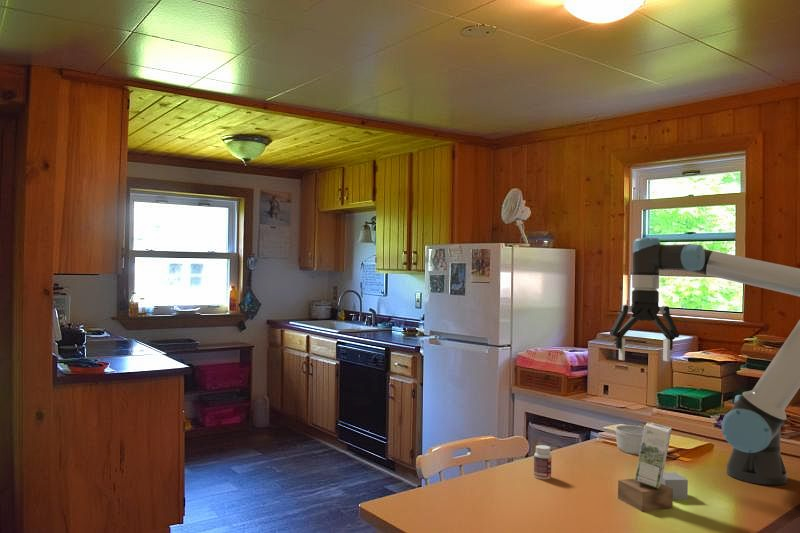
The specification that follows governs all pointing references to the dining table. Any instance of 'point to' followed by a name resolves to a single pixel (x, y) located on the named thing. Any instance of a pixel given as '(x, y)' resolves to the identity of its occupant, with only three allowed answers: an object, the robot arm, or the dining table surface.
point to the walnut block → (645, 495)
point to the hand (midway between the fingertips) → (643, 360)
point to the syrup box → (653, 454)
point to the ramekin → (629, 438)
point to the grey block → (676, 484)
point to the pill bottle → (542, 462)
